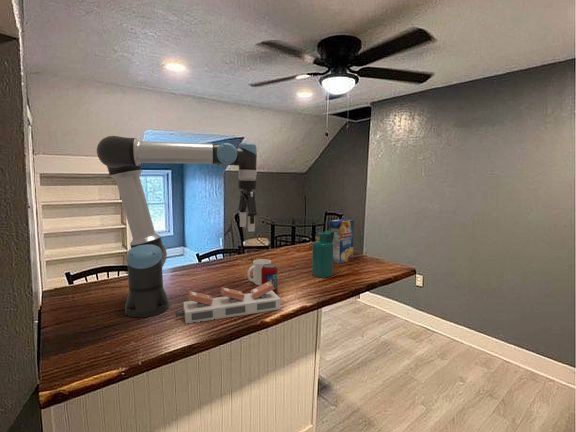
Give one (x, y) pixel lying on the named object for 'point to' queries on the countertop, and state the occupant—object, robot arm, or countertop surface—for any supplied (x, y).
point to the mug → (257, 270)
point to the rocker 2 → (232, 293)
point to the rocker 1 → (200, 297)
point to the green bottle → (323, 255)
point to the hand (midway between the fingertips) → (246, 229)
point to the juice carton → (342, 240)
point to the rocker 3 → (262, 289)
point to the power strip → (229, 307)
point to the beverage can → (269, 275)
